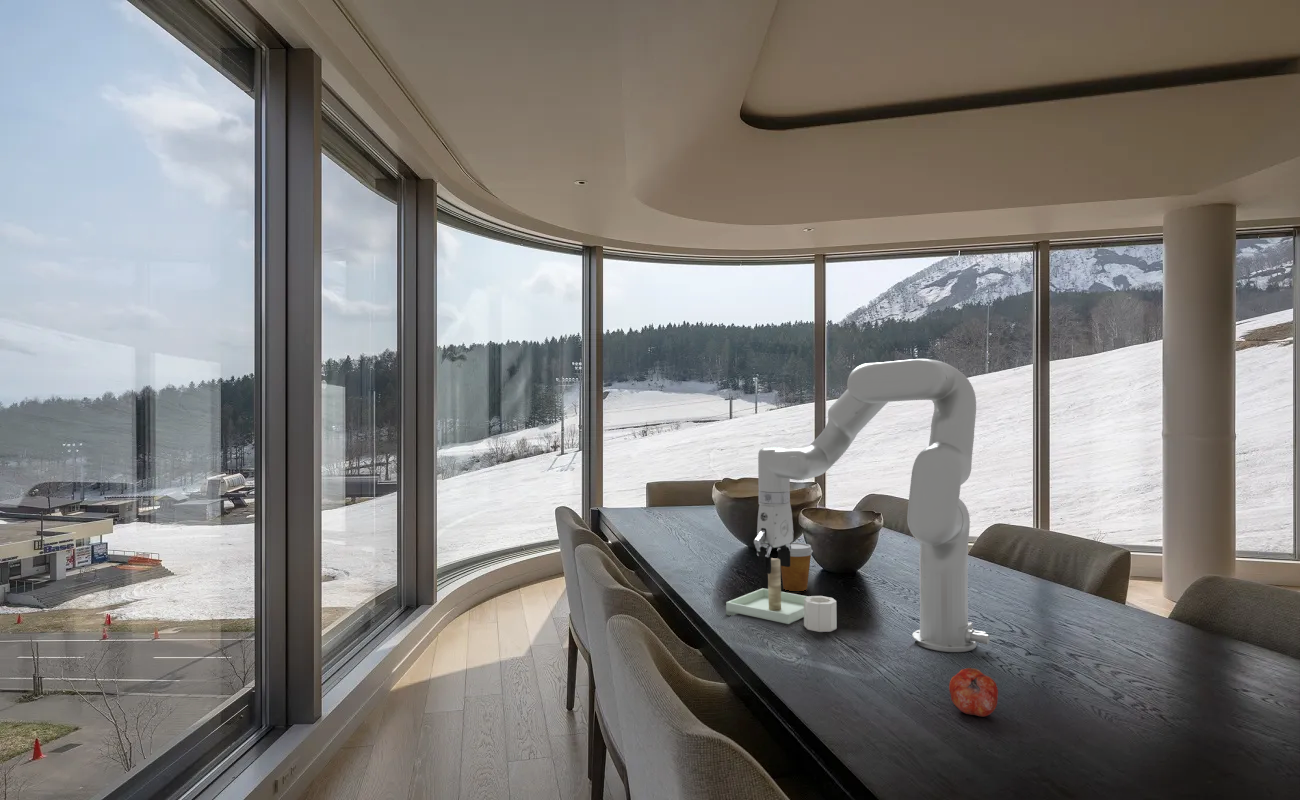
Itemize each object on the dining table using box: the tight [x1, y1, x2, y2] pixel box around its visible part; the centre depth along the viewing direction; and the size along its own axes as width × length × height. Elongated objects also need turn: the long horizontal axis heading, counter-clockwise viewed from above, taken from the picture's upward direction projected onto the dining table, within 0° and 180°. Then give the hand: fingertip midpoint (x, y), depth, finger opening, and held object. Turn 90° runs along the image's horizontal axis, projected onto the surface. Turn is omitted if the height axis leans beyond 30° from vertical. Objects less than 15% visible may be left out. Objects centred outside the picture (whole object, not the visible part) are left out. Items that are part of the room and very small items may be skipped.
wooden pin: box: [767, 557, 782, 611], centre depth 177 cm, size 3×3×12 cm
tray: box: [725, 587, 809, 625], centre depth 177 cm, size 17×17×3 cm
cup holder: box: [803, 595, 838, 633], centre depth 162 cm, size 7×7×7 cm
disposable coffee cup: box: [776, 542, 814, 592], centre depth 199 cm, size 10×10×12 cm
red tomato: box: [948, 667, 999, 717], centre depth 120 cm, size 7×7×10 cm
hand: (774, 569), depth 177 cm, fingers open, 8 cm apart
